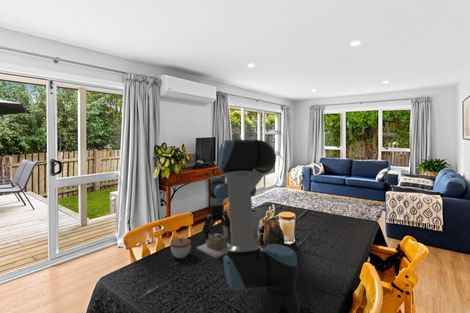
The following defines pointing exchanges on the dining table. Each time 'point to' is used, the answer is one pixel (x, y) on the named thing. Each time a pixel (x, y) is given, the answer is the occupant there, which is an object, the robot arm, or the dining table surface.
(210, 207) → the robot arm
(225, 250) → the post block
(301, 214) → the dining table surface
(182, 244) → the lidded jar
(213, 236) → the collar
